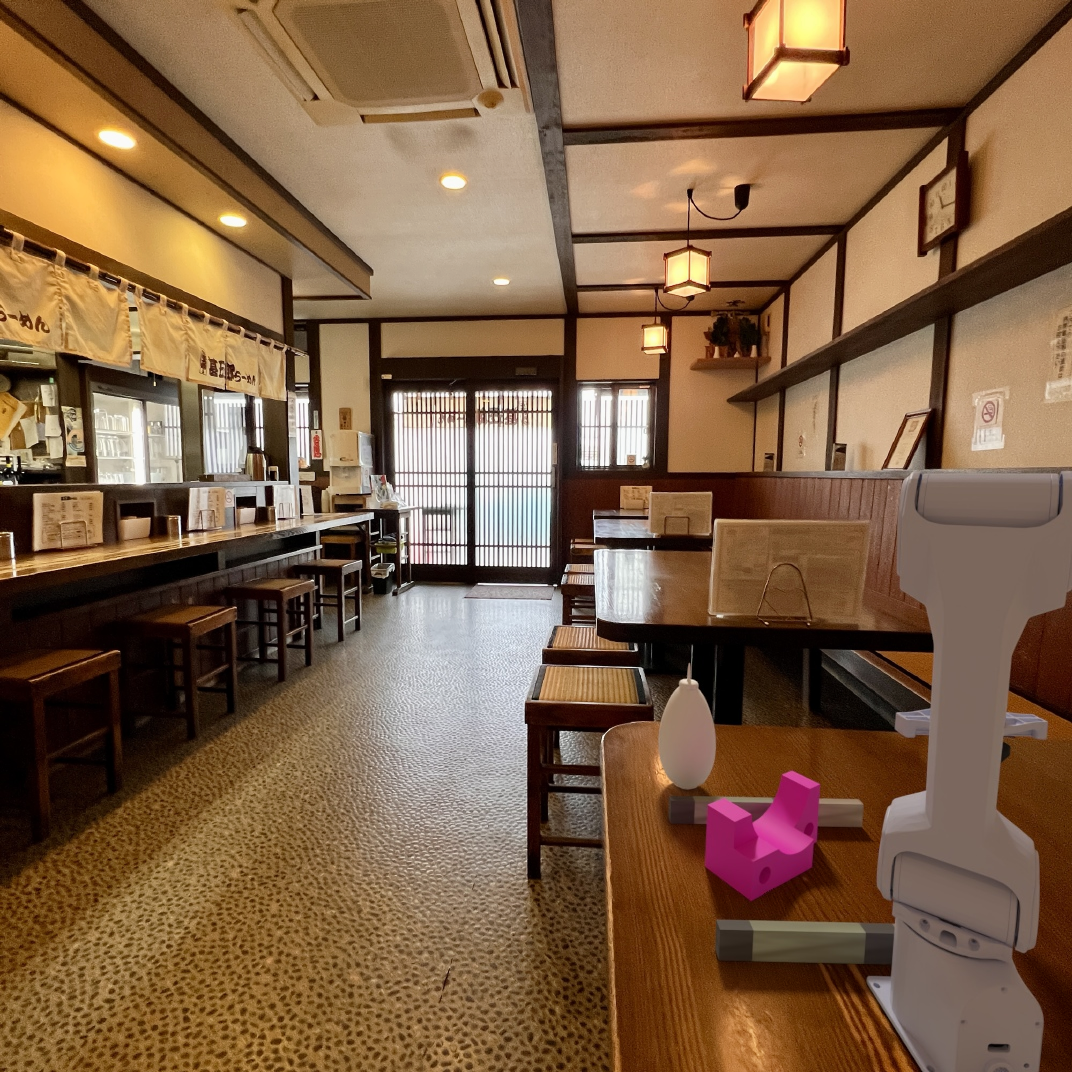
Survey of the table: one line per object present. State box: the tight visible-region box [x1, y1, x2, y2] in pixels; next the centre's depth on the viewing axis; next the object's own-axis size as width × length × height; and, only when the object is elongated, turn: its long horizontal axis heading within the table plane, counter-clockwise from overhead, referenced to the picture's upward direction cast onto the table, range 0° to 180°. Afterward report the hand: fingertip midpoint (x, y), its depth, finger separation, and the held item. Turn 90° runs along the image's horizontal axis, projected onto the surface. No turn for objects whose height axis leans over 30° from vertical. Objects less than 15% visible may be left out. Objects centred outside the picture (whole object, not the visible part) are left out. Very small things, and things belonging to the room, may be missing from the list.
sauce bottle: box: [657, 662, 717, 790], centre depth 82 cm, size 8×8×18 cm
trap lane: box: [667, 795, 895, 966], centre depth 63 cm, size 22×24×3 cm
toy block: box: [704, 770, 821, 902], centre depth 66 cm, size 15×6×8 cm, turn 121°
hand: (963, 799), depth 62 cm, fingers closed
